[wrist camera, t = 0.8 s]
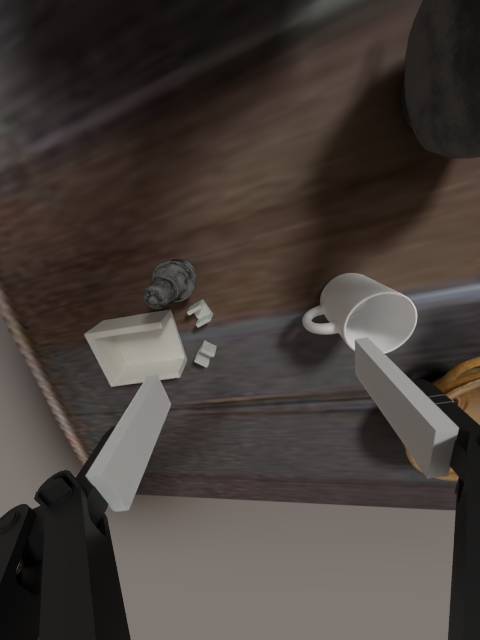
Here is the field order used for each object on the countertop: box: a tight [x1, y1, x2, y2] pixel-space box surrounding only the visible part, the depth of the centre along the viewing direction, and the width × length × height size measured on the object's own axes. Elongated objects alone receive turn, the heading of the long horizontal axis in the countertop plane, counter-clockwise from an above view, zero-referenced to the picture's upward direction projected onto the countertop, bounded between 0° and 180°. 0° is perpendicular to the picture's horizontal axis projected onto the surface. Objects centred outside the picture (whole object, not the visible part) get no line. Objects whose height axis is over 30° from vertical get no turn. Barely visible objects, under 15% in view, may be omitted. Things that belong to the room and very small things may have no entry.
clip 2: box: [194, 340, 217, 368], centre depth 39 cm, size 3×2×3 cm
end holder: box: [84, 309, 187, 387], centre depth 38 cm, size 10×12×5 cm
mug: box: [302, 273, 417, 354], centre depth 31 cm, size 12×8×10 cm
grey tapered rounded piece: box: [143, 259, 197, 309], centre depth 30 cm, size 6×6×12 cm
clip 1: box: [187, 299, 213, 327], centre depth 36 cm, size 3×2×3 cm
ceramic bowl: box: [404, 357, 480, 481], centre depth 40 cm, size 30×24×8 cm
